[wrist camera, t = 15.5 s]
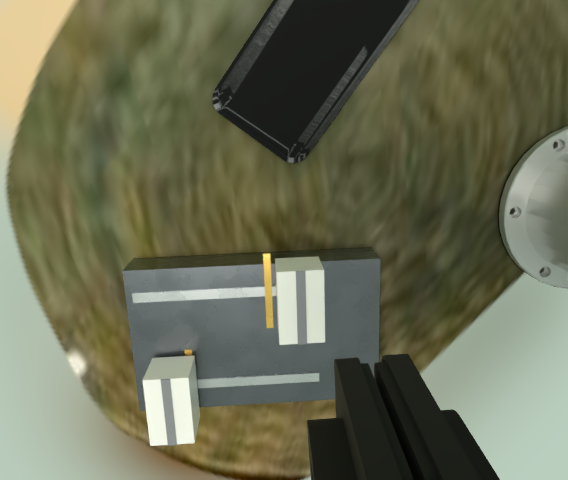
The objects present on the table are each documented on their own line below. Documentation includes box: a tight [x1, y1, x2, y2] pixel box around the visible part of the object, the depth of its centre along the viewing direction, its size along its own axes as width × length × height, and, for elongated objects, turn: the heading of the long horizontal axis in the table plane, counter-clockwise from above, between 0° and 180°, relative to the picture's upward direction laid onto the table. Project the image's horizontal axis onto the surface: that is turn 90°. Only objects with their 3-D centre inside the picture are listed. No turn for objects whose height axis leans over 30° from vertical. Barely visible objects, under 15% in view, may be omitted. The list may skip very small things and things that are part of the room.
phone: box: [212, 0, 419, 163], centre depth 32 cm, size 8×1×15 cm
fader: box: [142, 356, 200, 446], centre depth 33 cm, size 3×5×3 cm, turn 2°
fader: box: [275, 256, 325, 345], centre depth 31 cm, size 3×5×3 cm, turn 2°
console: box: [122, 247, 380, 411], centre depth 35 cm, size 18×13×3 cm
